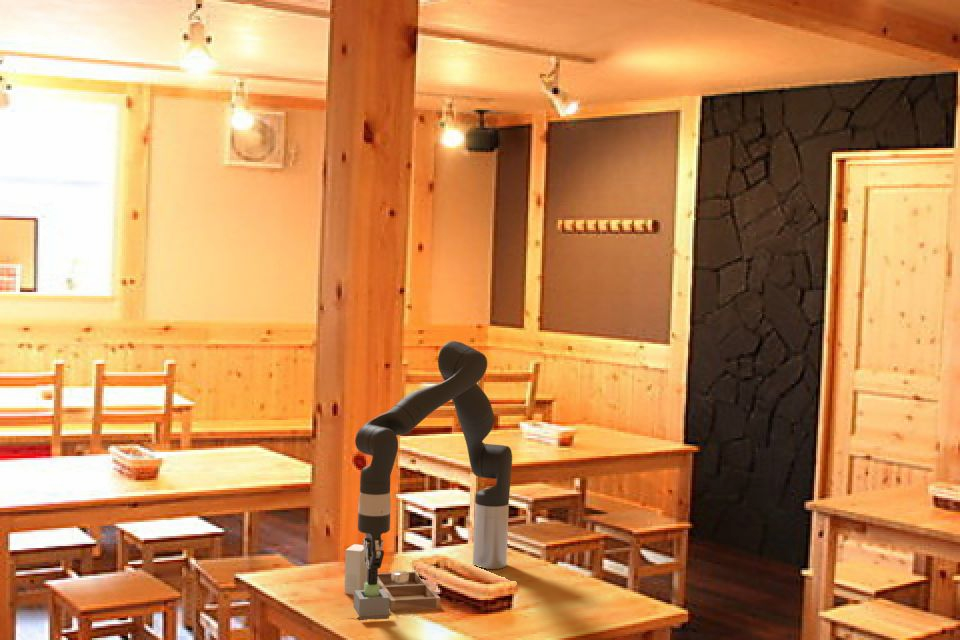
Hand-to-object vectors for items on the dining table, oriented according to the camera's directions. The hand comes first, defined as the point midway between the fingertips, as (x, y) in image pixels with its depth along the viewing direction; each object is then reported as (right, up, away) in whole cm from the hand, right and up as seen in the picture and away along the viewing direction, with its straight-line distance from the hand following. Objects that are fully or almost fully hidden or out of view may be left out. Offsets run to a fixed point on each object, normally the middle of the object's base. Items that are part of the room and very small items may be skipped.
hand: (372, 583), depth 283 cm
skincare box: (-5, -6, +16) cm, 18 cm away
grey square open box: (0, -7, +1) cm, 8 cm away
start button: (0, -4, 0) cm, 4 cm away
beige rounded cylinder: (+5, -5, +19) cm, 20 cm away
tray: (+7, -7, +14) cm, 17 cm away
